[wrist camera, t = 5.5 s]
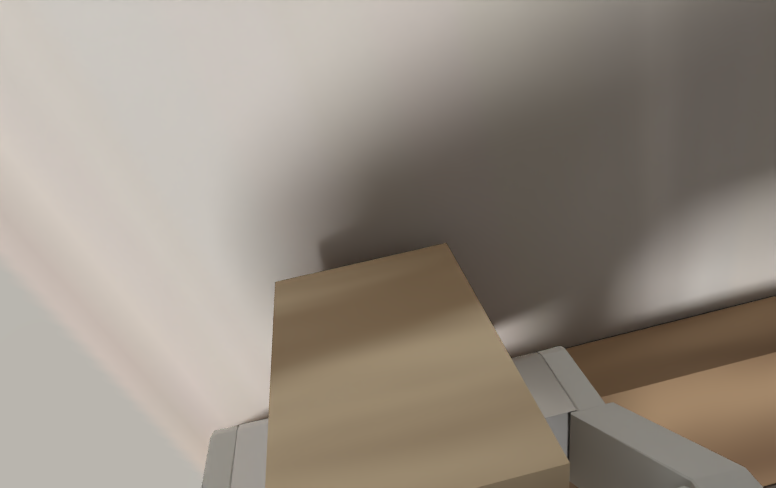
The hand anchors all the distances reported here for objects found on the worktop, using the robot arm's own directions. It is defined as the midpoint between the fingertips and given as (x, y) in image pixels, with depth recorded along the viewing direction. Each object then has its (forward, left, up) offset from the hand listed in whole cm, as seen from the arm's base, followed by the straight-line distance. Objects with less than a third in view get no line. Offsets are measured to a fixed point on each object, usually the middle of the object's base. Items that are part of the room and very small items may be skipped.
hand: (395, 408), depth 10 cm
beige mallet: (+4, 0, -3) cm, 5 cm away
